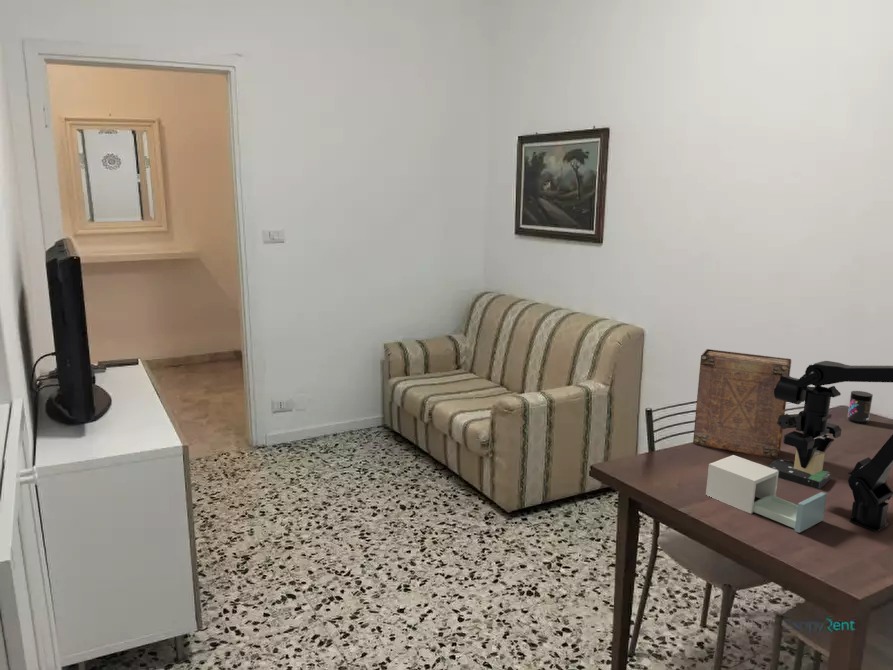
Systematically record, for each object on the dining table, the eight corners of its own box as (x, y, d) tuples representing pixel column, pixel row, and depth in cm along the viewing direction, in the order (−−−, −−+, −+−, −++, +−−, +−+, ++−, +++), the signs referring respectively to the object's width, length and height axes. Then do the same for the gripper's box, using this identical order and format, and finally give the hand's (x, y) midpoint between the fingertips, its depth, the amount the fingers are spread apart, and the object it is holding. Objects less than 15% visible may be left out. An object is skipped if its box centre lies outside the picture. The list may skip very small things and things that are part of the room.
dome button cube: (822, 470, 179) (824, 451, 178) (812, 474, 177) (815, 455, 176) (803, 464, 183) (805, 445, 182) (793, 468, 181) (796, 449, 179)
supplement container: (850, 416, 250) (854, 389, 248) (870, 421, 246) (875, 393, 243) (844, 420, 246) (848, 393, 244) (865, 425, 241) (869, 397, 239)
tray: (822, 520, 170) (826, 493, 168) (799, 532, 163) (803, 505, 162) (772, 500, 180) (775, 475, 179) (748, 511, 174) (751, 485, 172)
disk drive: (764, 475, 198) (819, 491, 188) (765, 466, 198) (821, 481, 188) (776, 466, 206) (830, 480, 196) (777, 457, 205) (832, 471, 195)
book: (780, 450, 216) (792, 359, 210) (778, 460, 209) (790, 365, 202) (697, 435, 229) (705, 348, 222) (692, 444, 221) (701, 354, 214)
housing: (774, 502, 180) (778, 470, 178) (750, 513, 173) (754, 481, 171) (729, 485, 190) (733, 454, 188) (705, 495, 184) (708, 463, 182)
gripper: (803, 395, 188) (796, 448, 191) (767, 407, 177) (760, 463, 181) (845, 406, 179) (837, 461, 183) (810, 419, 169) (802, 477, 172)
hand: (808, 465), depth 180 cm, fingers closed on dome button cube, 5 cm apart
